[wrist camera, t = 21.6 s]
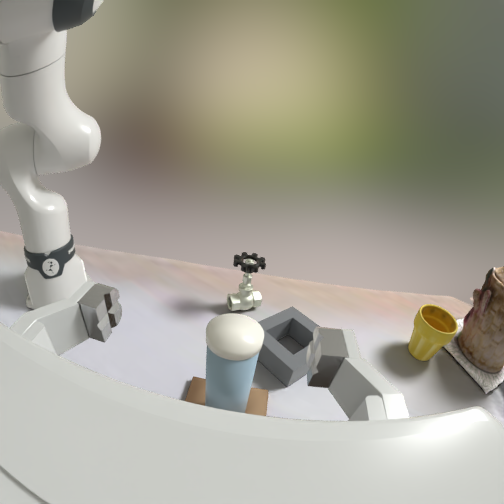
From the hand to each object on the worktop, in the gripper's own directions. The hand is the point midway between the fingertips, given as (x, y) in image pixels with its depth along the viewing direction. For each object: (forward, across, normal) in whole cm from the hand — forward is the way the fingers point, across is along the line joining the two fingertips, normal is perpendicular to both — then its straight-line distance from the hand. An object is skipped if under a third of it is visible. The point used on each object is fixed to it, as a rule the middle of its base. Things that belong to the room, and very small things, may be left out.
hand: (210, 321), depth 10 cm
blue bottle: (+12, 0, +29) cm, 31 cm away
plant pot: (+31, -40, +30) cm, 59 cm away
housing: (+28, -9, +30) cm, 42 cm away
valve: (+40, +1, +30) cm, 50 cm away
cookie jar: (+31, -62, +30) cm, 75 cm away
